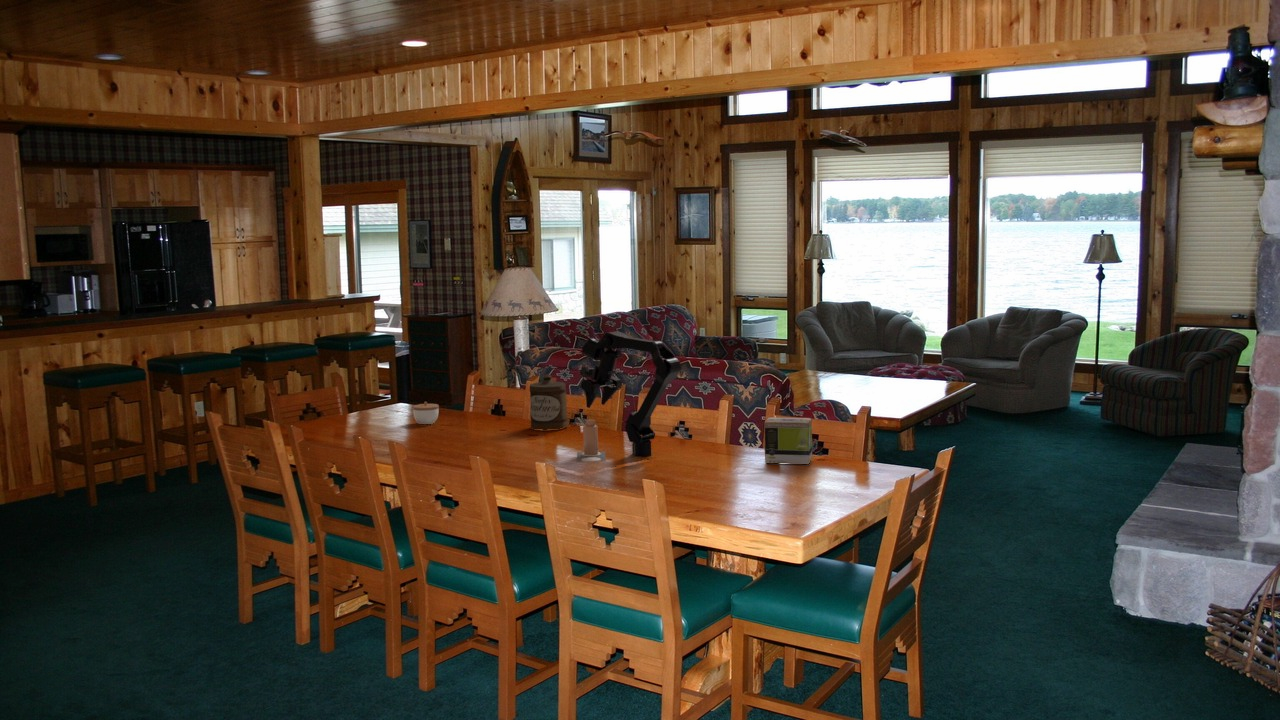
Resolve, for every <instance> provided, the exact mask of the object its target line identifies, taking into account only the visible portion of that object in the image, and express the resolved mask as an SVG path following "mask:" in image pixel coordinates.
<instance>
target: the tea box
mask: <svg viewBox="0 0 1280 720" xmlns="http://www.w3.org/2000/svg"><path fill="white" fill-rule="evenodd" d="M812 422H813V421H812V418H811V417H772V416H771V417H768V418H767V419H766V420H765V421H764V458H765V459H764V464H765V463H790V464H809V463H810V464H811V462H810V460H811V457H812V458H813V430H812V429H813V428H812V427H813V426H812V425H813V423H812ZM811 461H812V460H811ZM810 464H809V465H810Z"/></svg>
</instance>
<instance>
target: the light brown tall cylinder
mask: <svg viewBox="0 0 1280 720" xmlns="http://www.w3.org/2000/svg"><path fill="white" fill-rule="evenodd" d="M582 426H583V428H582V429H583V452H584V454H585V455H597V454H598V452H599V432H598V431H599V430H598V429H599V427H598V426H599V425H598V424H596V420H595V419H585V424H584V425H582Z"/></svg>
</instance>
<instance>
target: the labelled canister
mask: <svg viewBox="0 0 1280 720" xmlns="http://www.w3.org/2000/svg"><path fill="white" fill-rule="evenodd" d="M542 378H543V381H540V382H533V383H530V384H529V392H530V393H529V396H530V397H529V398H530V401H529V402H530V404H529V405H530V407H529V408H530V415H529V416H530V429H531V428H533V429H543V430H547V429H560V428H563V427H566V426H567V427H568V407H567V405H568V403H567V391H566V388H567V387H566V383H565V382H562V381H553V380H552V378H553V377H552V375H550V374H545V375H543V376H542Z"/></svg>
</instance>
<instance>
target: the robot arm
mask: <svg viewBox="0 0 1280 720" xmlns="http://www.w3.org/2000/svg"><path fill="white" fill-rule="evenodd" d="M617 349H628V350H634V351H635V350H636V351H639V352H640V351H641V352H646V353H650V355H651V358H652V363H653V365H654V366H655V367H656V368H655V371H654V377H655V378H654V381H653V382H652V384H651V386H650V388H649V390H648V391H647V394H646V396H645V398H644V399H643V401H642V403H641V405H640V407H639V409H638V411H635V412H631V413H630V414H629V415H628V417H627V419H626V420H625V421H624V423H625V426H624V429H625V432H626V435H627V438H628V442H630V443H632V444H631V446H632V447H631V448H632V451H631V452H632V455H633V456H634V457H638V458H639V457H641V458H647V457H651V456H652V440H654V439H655V436H656V432H655V431H654V430H653V428H651V424H652V419H651V417H652V414H653V413H654V411H655V409H656V407H657V405H658V403H659V402H660V399H661V398H662V396H663V395H664V392H665V390H666V389H667V387H668V385H669V384H670V383H671V382H672V381H673V380H674V379H676V377H677V376H678V375H679V374H680V372H681V371H682V369H683V368H682V363H681V361H680V360H679V359H678V358H677V356H676V355H675V354H674V353H673V352H672V351H671V350H670V349H668V347H667V346H666V345H665V343H664V342H662V341H661V340H652V339H644V338H639V337H633V336H629V335H628V334H626V333H624V332H621V331H609V332H605V333H604V334H603V336H602V338H600V340H599V341H598V340H597V339H595V338H593V337H588V338H587V341H586V342H585V343H584V344H583V346H582V349H581V354H583V355H584V356H585V357H588V358H589V359H591V360H592V361H593V360H594V361H596V362H597V361H598V365H595V366H594V367H589V366H581V368H580V370H579V374H580V376H581V377H582V379H583V378H584V379H583V380H581V381H580V382H579V383H580V384H579V388H581V390H583V391H584V393H585V402H586V407H587V408H588V409H589V408H591V407H592V405H593V403H594V402H595V400H596V399H597V397H598V395H599V391H600V389H601V387H602V388H603V391H602V396H601V402H600V403H601V405H603V406H605V404H606V403H607V402H608V401H609V400H610V399H611V397H612V396H614V394H615V393H616V392H617V391H619V389H621V388H622V386H623V382H622V379H620V378H618V377H616V376H614V375H613V374H616V372H617V370H616V369H615V368H616V363H617V359H620V358H624V355H623V353H622V351H621V350H617ZM585 378H586V379H585ZM587 378H588V379H587Z"/></svg>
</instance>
